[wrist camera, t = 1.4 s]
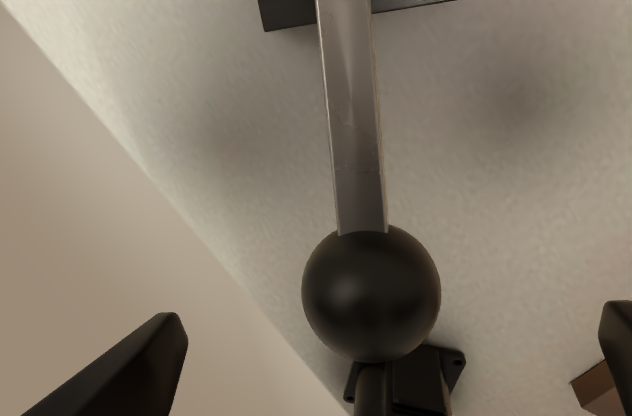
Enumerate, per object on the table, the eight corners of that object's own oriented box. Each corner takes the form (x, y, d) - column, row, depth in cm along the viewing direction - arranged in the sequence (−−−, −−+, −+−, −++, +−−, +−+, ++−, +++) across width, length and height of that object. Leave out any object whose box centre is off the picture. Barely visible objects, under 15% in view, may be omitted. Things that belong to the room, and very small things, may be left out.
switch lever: (438, 325, 11) (454, 394, 8) (321, 327, 12) (294, 391, 9) (401, -220, 10) (403, -391, 7) (266, -183, 10) (210, -323, 7)
